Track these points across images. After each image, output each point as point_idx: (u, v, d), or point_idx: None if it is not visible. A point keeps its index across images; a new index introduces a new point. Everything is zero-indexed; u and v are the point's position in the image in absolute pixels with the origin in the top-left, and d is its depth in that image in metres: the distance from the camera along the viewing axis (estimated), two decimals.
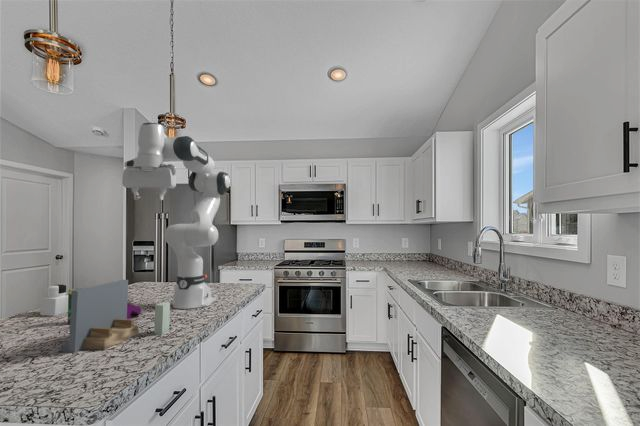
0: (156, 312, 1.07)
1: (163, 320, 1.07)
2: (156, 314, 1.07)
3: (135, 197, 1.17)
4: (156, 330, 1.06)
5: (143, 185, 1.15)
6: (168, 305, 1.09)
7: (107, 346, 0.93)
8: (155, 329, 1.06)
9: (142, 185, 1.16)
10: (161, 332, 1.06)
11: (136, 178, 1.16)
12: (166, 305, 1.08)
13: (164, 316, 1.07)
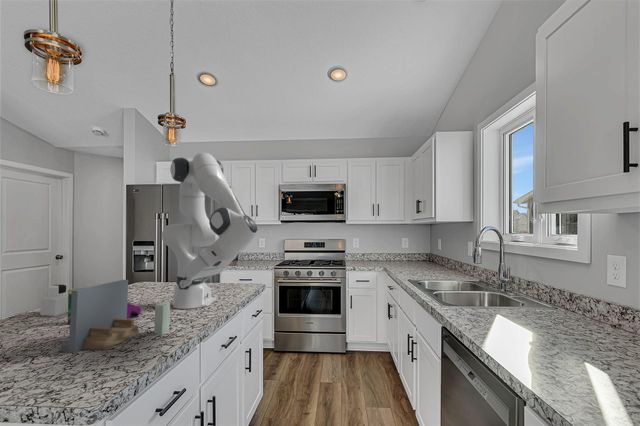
0: (156, 312, 1.07)
1: (163, 320, 1.07)
2: (156, 314, 1.07)
3: (188, 285, 1.02)
4: (156, 330, 1.06)
5: (205, 276, 1.05)
6: (168, 305, 1.09)
7: (107, 346, 0.93)
8: (155, 329, 1.06)
9: (204, 276, 1.04)
10: (161, 332, 1.06)
11: (205, 271, 1.02)
12: (166, 305, 1.08)
13: (164, 316, 1.07)
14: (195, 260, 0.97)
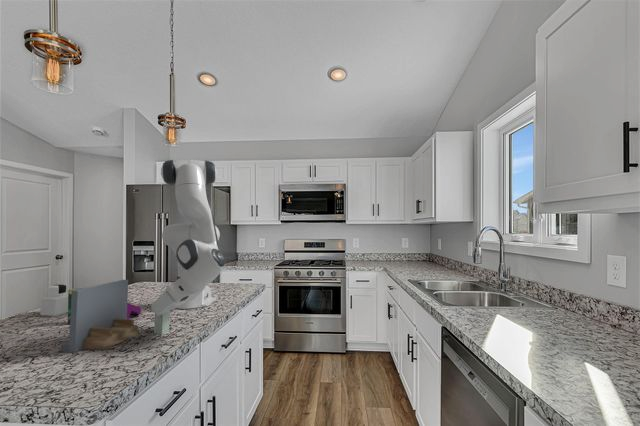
0: None
1: (163, 320, 1.07)
2: None
3: (159, 316, 1.05)
4: (156, 330, 1.06)
5: (174, 308, 1.07)
6: None
7: (107, 346, 0.93)
8: (155, 329, 1.06)
9: (172, 308, 1.06)
10: (161, 332, 1.06)
11: (173, 305, 1.04)
12: None
13: (164, 316, 1.07)
14: (162, 296, 0.99)
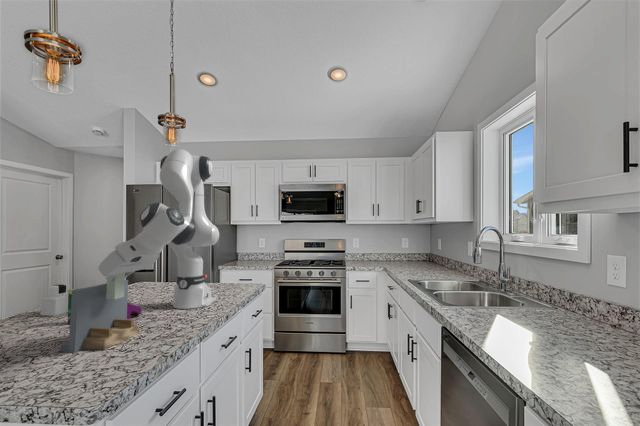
0: None
1: (116, 284, 0.99)
2: None
3: (111, 280, 0.98)
4: (109, 295, 0.98)
5: (127, 271, 0.99)
6: None
7: (107, 346, 0.93)
8: (107, 294, 0.99)
9: (126, 272, 0.99)
10: (113, 297, 0.98)
11: (125, 267, 0.96)
12: None
13: (117, 281, 0.99)
14: (110, 255, 0.91)
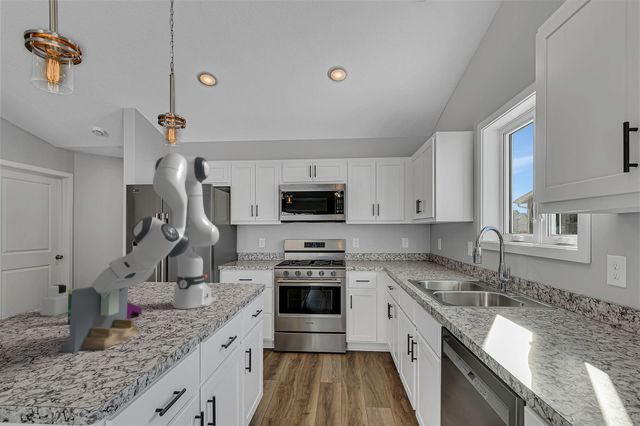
0: None
1: (110, 300, 0.99)
2: None
3: (105, 296, 0.97)
4: (103, 311, 0.98)
5: (122, 287, 0.99)
6: None
7: (107, 346, 0.93)
8: (101, 310, 0.98)
9: (120, 287, 0.98)
10: (108, 313, 0.98)
11: (119, 283, 0.96)
12: None
13: (111, 296, 0.99)
14: (104, 272, 0.91)
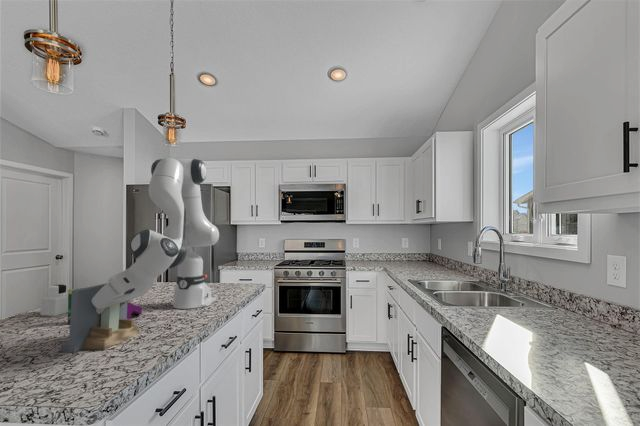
0: None
1: (110, 318, 0.98)
2: None
3: (101, 312, 0.96)
4: None
5: (121, 302, 0.99)
6: None
7: (107, 346, 0.93)
8: (101, 327, 0.98)
9: (119, 302, 0.98)
10: None
11: (119, 298, 0.96)
12: None
13: (111, 314, 0.99)
14: (103, 288, 0.91)
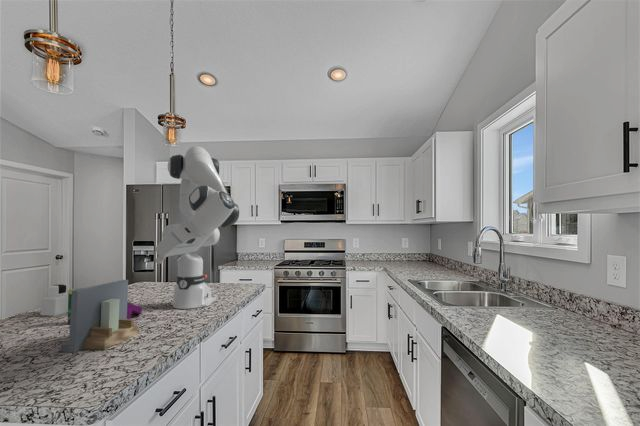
0: (102, 309, 0.99)
1: (110, 318, 0.98)
2: (102, 311, 0.98)
3: (160, 262, 0.97)
4: None
5: (179, 253, 1.01)
6: (117, 302, 1.01)
7: (107, 346, 0.93)
8: None
9: (178, 254, 1.00)
10: None
11: (179, 249, 0.97)
12: (114, 302, 1.00)
13: (111, 314, 0.99)
14: (167, 237, 0.93)
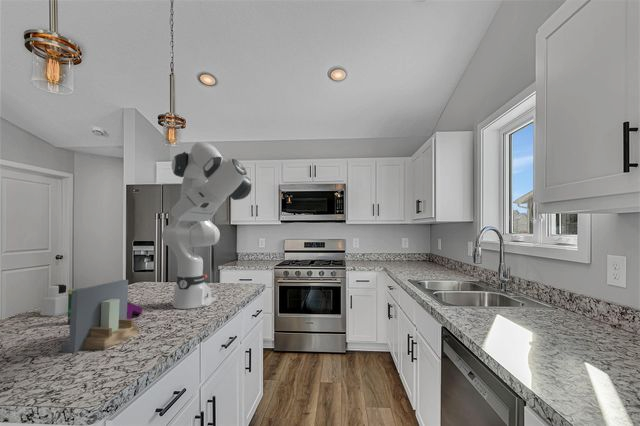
0: (102, 309, 0.99)
1: (110, 318, 0.98)
2: (102, 311, 0.98)
3: (175, 227, 1.00)
4: None
5: (193, 219, 1.03)
6: (117, 302, 1.01)
7: (107, 346, 0.93)
8: None
9: (191, 220, 1.03)
10: None
11: (193, 214, 1.00)
12: (114, 302, 1.00)
13: (111, 314, 0.99)
14: (182, 200, 0.95)
